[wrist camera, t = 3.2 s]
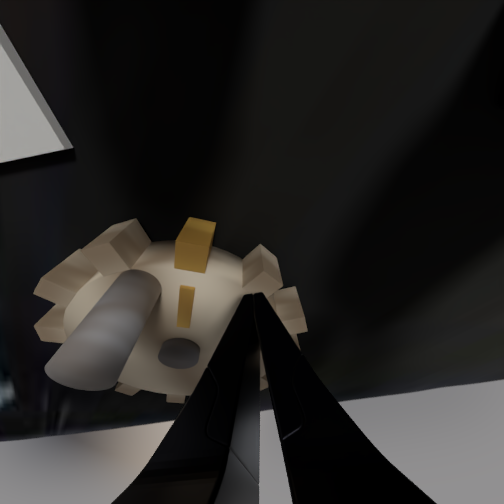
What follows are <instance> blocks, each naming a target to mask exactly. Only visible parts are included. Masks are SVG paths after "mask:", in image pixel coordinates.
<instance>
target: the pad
mask: <svg viewBox="0 0 504 504" xmlns="http://www.w3.org/2000/svg"><path fill="white" fill-rule="evenodd" d="M70 148H73V146H72V145H71V143H70V141H69V140H68V138H67V136H66V135H65V133H64V131H63V130H62V128H61V126H60V124H59V123H58V121H57V119H56V118H55V116H54V114H53V113H52V111H51V109H50V107H49V106H48V104H47V102H46V101H45V99H44V97H43V96H42V94H41V92H40V91H39V89H38V87H37V85H36V84H35V82H34V80H33V79H32V77H31V75H30V74H29V72H28V70H27V69H26V67H25V65H24V63H23V62H22V60H21V58H20V57H19V55H18V53H17V52H16V50H15V48H14V46H13V45H12V43H11V41H10V40H9V38H8V36H7V35H6V33H5V31H4V30H3V28H2V26H1V24H0V163H3V162H8V161H13V160H17V159H22V158H27V157H32V156H37V155H41V154H46V153H51V152H56V151H61V150H66V149H70Z"/></svg>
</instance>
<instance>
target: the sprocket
mask: <svg viewBox="0 0 504 504" xmlns="http://www.w3.org/2000/svg"><path fill="white" fill-rule="evenodd" d="M215 226H216V223H215V222H211V221H206V220H201V219H197V218H192V217H189V219H188V220H187V222H186V224H185V225H184V227H183V229H182V231H181V232H180V234H179V236H178V237H177V239H176V240H165V241H156V242H151V240H150V239H149V237H148V236H147V234H146V233H145V231H144V230H143V228H142V226H141V225H140V223H139V222H138V220H137V219H136V218H135V219H132V220H129V221H125V222H122V223H119V224H115V225H112V226H111V227H110V228H109V229H107V230H106V231H105V232H103V233H102V234H101V235H100V236H98V237H97V238H96V239H94V240H93V241H92V242H91V243H89V244H88V245H87V246H85V247H84V248H83V249H82V250H81V249H78V250H77V251H76V252H74V253H73V254H72V255H70V256H69V257H68V258H67V259H65V260H64V261H63V262H61V263H60V264H59V265H57V266H56V267H55V268H53V269H52V270H51V271H50V272H48V273H47V274H46V275H44V276H43V277H42V278H41V280H40V282H39V284H38V285H37V287H36V289H35V291H34V293H33V294H35V295H37V296H40V297H42V298H44V299H47V300H49V301H51V302H54V303H56V305H55V306H54V307H53V308H52V309H51V310H50V311H49V312H48V313H47V314H46V315H44V316H43V317H42V318H41V319H40V320H39V321H38V322H37V323H36V324H35V325H34V327H35V329H36V331H37V333H38V335H39V337H40V339H41V341H49V342H58V343H63V345H62V346H61V347H60V348H59V350H58V351H57V352H56V353H55V354H54V356H53V357H52V358H51V359H50V361H49V362H48V363H47V364H46V366H45V372H46V374H47V375H48V376H49V377H50V378H51V379H53V380H54V381H56V382H58V383H60V384H62V385H65V386H68V387H71V388H75V389H80V390H89V391H98V390H105V389H109V388H111V387H113V386H114V385H115V384H116V383H117V381H119V382H118V384H117V387H116V389H115V391H118V392H121V393H124V394H128V395H131V396H132V395H134V394H135V393H137V392H138V391H139V390H141V389H143V390H147V391H152V392H157V393H163V394H167V402H174V403H184V400H185V395H191V394H192V393H193V391H194V389H195V387H196V385H197V383H198V382H199V380H200V378H201V376H202V374H203V372H204V370H205V368H206V367H207V365H208V363H209V361H210V359H211V357H212V355H213V353H214V351H215V349H216V347H217V345H218V343H219V341H220V340H221V338H222V336H223V334H224V332H225V330H226V328H227V326H228V324H229V322H230V320H231V318H232V316H233V314H234V312H235V311H236V309H237V307H238V305H239V303H240V301H241V299H242V297H243V295H245V294H251V293H252V294H254V293H258V292H263V293H264V295H265V296H266V298H267V300H268V301H269V303H270V304H271V306H272V307H273V309H274V310H275V312H276V313H277V315H278V317H279V318H280V320H281V321H282V323H283V324H284V326H285V327H286V329H287V331H288V332H289V334H290V335H291V337H292V338H293V340H294V341H295V343H296V345H297V346H298V348H299V349H300V346H299V342H298V338H297V333H302V332H307V326H306V321H305V316H304V313H303V310H302V307H301V303H300V300H299V297H298V294H297V290H296V287H295V286H294V287H290V288H285V289H281V290H278V289H280V288H281V287H282V286H283V283H282V279H281V274H280V270H279V266H278V262H277V257H275V256H274V255H273V254H272V253H271V252H269V251H268V250H267V249H266V248H265V247H264V246H262V245H261V244H260V245H258V246H257V247H256V248H255V249H254V250H253V251H252V252H250V253H249V254H248V255H247V256H246V257H245V258H244V259H241V258H240V257H238V256H236V255H234V254H232V253H230V252H228V251H225V250H222V249H220V248H217V247H214V246H212V243H213V238H214V232H215ZM267 387H268V382H267V377H266V373H265V368H264V363H263V359H262V354H261V349H260V390H263V389H265V388H267Z"/></svg>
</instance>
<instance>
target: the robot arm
mask: <svg viewBox="0 0 504 504" xmlns="http://www.w3.org/2000/svg"><path fill="white" fill-rule="evenodd" d="M498 104H499V107H500V108H502V109H504V86H503V89H502V91H501V94H500V96H499V100H498ZM260 349H261V354H262V359H263V363H264V368H265V373H266V377H267V382H268V387H269V391H270V396H271V401H272V405H273V410H274V415H275V419H276V424H277V429H278V434H279V438H280V442H281V448H282V452H283V457H284V462H285V466H286V472H287V477H288V482H289V487H290V492H291V497H292V502H293V504H436V503H435V502H434V501H433V500H432V499H431V498H430V497H429V496H427V495H426V494H425V493H424V492H423V491H422V490H421V489H419V488H418V487H417V486H416V485H415V484H414V483H413V482H412V481H410V480H409V479H408V478H407V477H406V476H405V475H404V474H403V473H401V472H400V471H399V470H398V469H397V468H396V467H395V466H393V465H392V464H391V463H390V462H389V461H388V460H387V459H386V458H385V457H384V456H383V455H382V454H381V453H380V452H379V450H378V449H377V448H376V447H375V446H374V445H373V444H372V443H371V442H370V440H369V439H368V438H367V437H366V436H365V435H364V433H363V432H362V431H361V430H360V429H359V428H358V426H357V425H356V424H355V422H354V421H353V420H352V419H351V418H350V416H349V415H348V414H347V413H346V412H345V410H344V409H343V408H342V407H341V405H340V404H339V403H338V402H337V400H336V399H335V398H334V397H333V396H332V394H331V393H330V392H329V391H328V389H327V388H326V387H325V385H324V384H323V383H322V381H321V380H320V379H319V378H318V376H317V375H316V373H315V372H314V370H313V369H312V367H311V366H310V364H309V363H308V361H307V360H306V358H305V357H304V355H302V352H301V351H300V349H299V348H298V346H297V345H296V343H295V341H294V340H293V338H292V337H291V335H290V334H289V332H288V331H287V329H286V327H285V326H284V324H283V323H282V321H281V320H280V318H279V317H278V315H277V313H276V312H275V310H274V309H273V307H272V306H271V304H270V303H269V301H268V300H267V298H266V296H265V295H264V293H263V292H258V293H254V294H252V293H251V294H245V295H243V297H242V299H241V301H240V303H239V305H238V307H237V309H236V311H235V312H234V314H233V316H232V318H231V320H230V322H229V324H228V326H227V328H226V330H225V332H224V334H223V336H222V338H221V340H220V341H219V343H218V345H217V347H216V349H215V351H214V353H213V355H212V357H211V359H210V361H209V363H208V365H207V367H206V368H205V370H204V372H203V374H202V376H201V378H200V380H199V382H198V383H197V385H196V387H195V389H194V391H193V393H192V394H191V396H190V397H189V399H188V401H187V402H186V404H185V406H184V407H183V409H182V411H181V412H180V414H179V415H178V417H177V418H176V420H175V421H174V423H173V425H172V426H171V428H170V429H169V431H168V432H167V434H166V436H165V437H164V439H163V440H162V442H161V443H160V445H159V447H158V448H157V450H156V451H155V453H154V454H153V456H152V457H151V459H150V460H149V462H148V463H147V465H146V466H145V467H144V469H143V470H142V471H141V472H140V474H139V475H138V476H137V477H136V479H135V480H134V481H133V482H132V483H131V484H130V485H129V486H128V488H126V490H124V492H122V493H121V494H120V495H119V496H118V497H117V498H116V499H115V500H114V501H113V502H112V503H111V504H259V485H258V484H259V446H260V441H259V440H260Z"/></svg>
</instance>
